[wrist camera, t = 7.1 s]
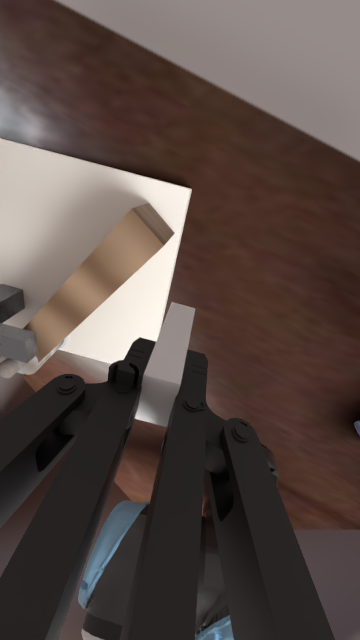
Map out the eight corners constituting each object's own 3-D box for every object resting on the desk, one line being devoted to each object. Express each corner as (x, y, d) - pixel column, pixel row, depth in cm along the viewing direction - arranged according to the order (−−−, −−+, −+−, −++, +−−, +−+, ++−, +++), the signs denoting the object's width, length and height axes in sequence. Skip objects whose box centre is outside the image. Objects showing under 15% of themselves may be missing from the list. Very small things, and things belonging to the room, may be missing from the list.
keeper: (77, 315, 37) (27, 363, 27) (12, 298, 37) (-60, 339, 27) (77, 298, 35) (24, 341, 26) (9, 279, 35) (-68, 316, 26)
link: (52, 353, 38) (13, 394, 31) (24, 330, 37) (-25, 367, 29) (178, 237, 27) (163, 258, 20) (145, 198, 26) (115, 205, 18)
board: (152, 367, 40) (149, 375, 38) (2, 327, 40) (-7, 332, 38) (191, 188, 26) (190, 189, 25) (-33, 129, 27) (-48, 126, 25)
